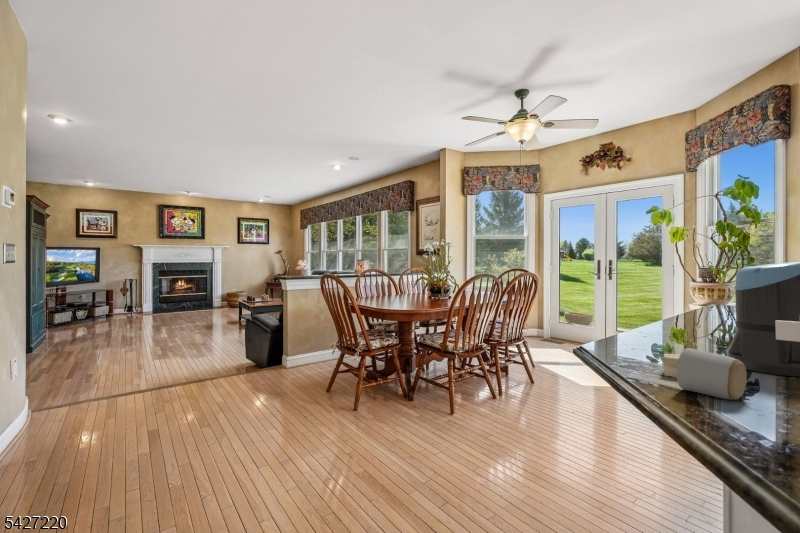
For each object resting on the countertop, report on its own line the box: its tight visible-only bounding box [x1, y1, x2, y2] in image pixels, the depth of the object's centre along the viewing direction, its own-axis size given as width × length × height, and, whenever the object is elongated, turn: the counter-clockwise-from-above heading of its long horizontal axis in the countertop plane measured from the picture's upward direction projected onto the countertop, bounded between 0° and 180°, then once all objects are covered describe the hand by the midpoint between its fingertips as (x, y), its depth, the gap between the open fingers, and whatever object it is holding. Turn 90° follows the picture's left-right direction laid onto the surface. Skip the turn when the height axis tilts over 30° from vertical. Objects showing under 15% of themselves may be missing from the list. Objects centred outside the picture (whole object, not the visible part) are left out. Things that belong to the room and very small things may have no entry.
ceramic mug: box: [676, 347, 748, 401], centre depth 67 cm, size 11×8×8 cm
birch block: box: [663, 352, 680, 378], centre depth 78 cm, size 4×4×4 cm
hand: (788, 326), depth 58 cm, fingers open, 13 cm apart
